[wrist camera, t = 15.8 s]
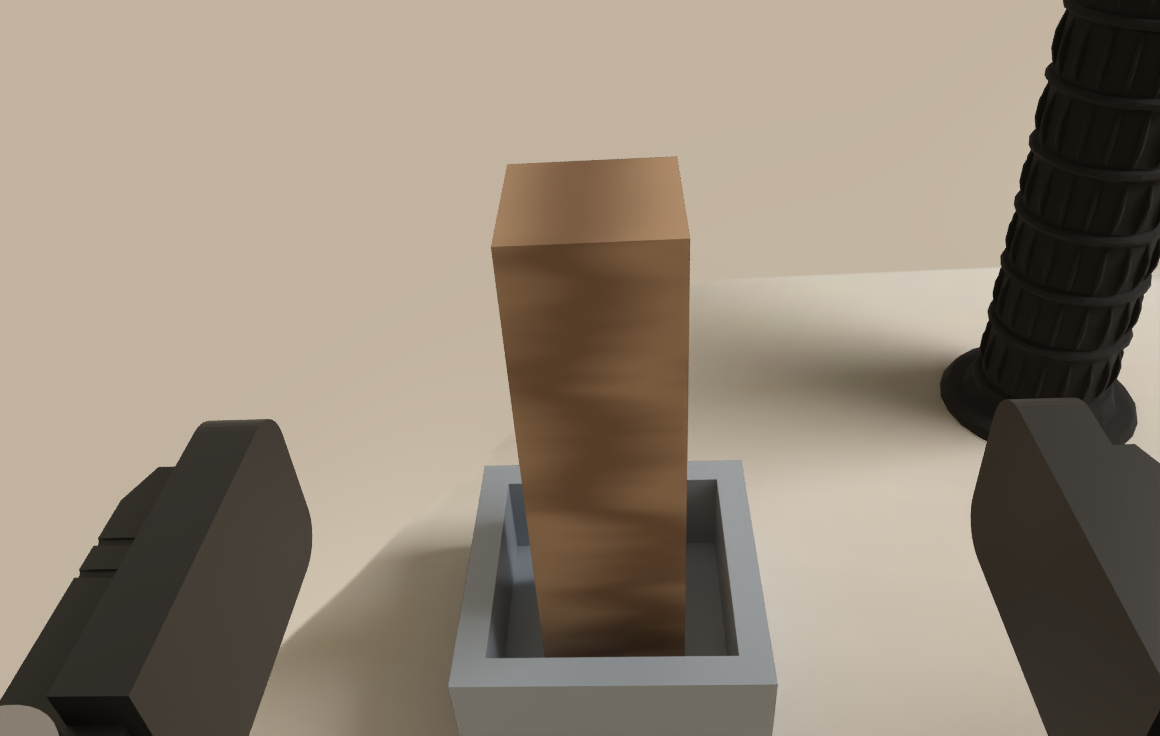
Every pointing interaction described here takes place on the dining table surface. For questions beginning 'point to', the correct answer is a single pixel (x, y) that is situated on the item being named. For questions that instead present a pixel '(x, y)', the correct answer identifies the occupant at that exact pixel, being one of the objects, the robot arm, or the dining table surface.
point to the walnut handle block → (600, 396)
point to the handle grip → (1077, 228)
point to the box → (616, 684)
